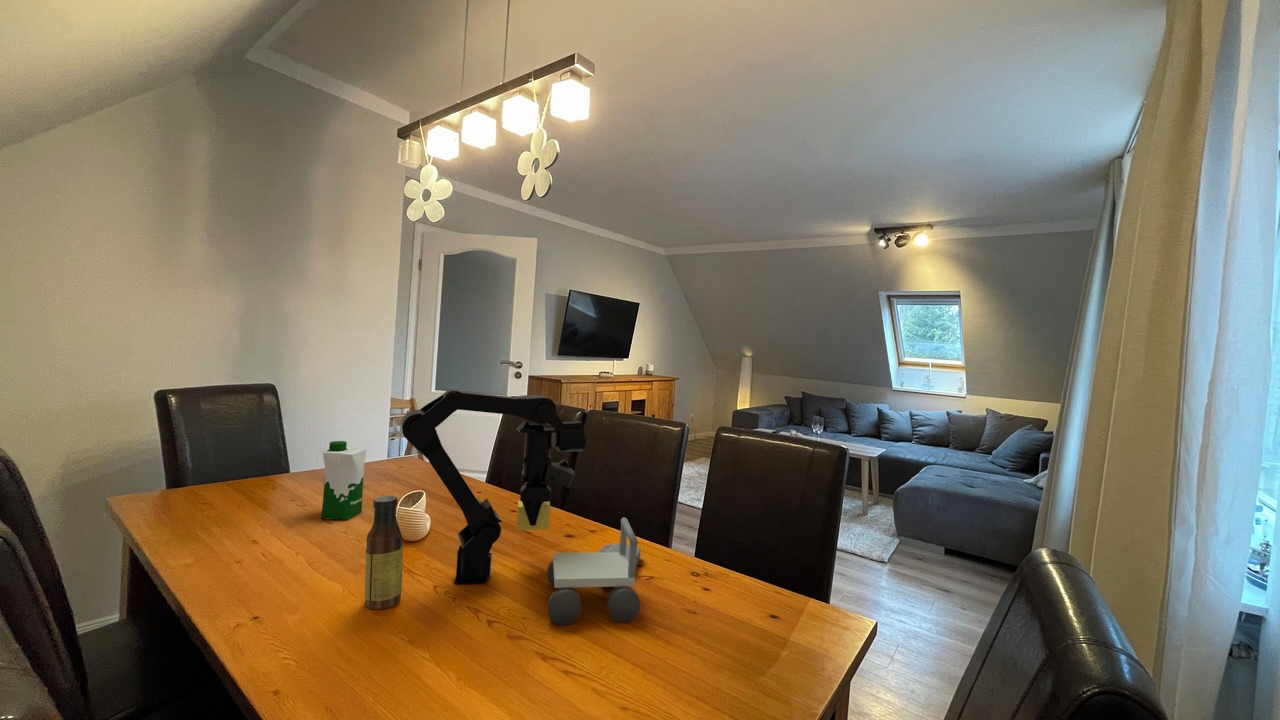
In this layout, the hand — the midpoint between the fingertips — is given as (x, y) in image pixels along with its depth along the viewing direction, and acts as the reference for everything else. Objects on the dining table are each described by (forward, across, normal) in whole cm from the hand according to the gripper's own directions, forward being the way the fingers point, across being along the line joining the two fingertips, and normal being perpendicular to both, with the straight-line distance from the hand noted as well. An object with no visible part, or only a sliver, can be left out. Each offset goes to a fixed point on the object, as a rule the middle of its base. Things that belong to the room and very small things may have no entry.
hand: (532, 521), depth 114 cm
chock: (+1, 0, 0) cm, 1 cm away
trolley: (+11, -16, -12) cm, 22 cm away
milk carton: (+11, +37, +50) cm, 63 cm away
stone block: (+11, +2, -20) cm, 23 cm away
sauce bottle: (+11, -13, +27) cm, 32 cm away
